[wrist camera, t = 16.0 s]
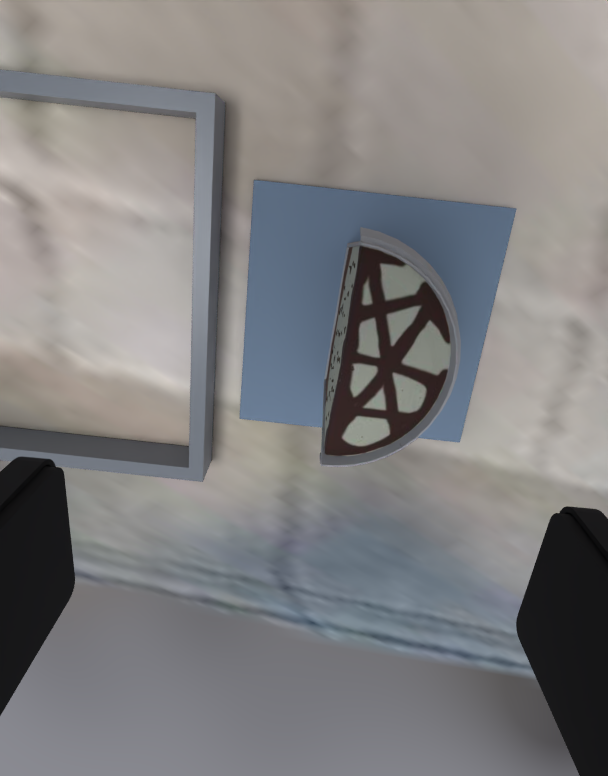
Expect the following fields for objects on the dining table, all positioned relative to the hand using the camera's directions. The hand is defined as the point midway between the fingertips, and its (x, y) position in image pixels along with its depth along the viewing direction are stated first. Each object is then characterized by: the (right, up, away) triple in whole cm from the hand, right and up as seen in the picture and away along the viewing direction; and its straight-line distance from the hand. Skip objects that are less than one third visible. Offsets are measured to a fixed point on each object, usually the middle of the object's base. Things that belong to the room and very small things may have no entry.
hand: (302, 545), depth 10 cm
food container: (+5, +7, +24) cm, 25 cm away
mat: (+4, +8, +24) cm, 26 cm away
